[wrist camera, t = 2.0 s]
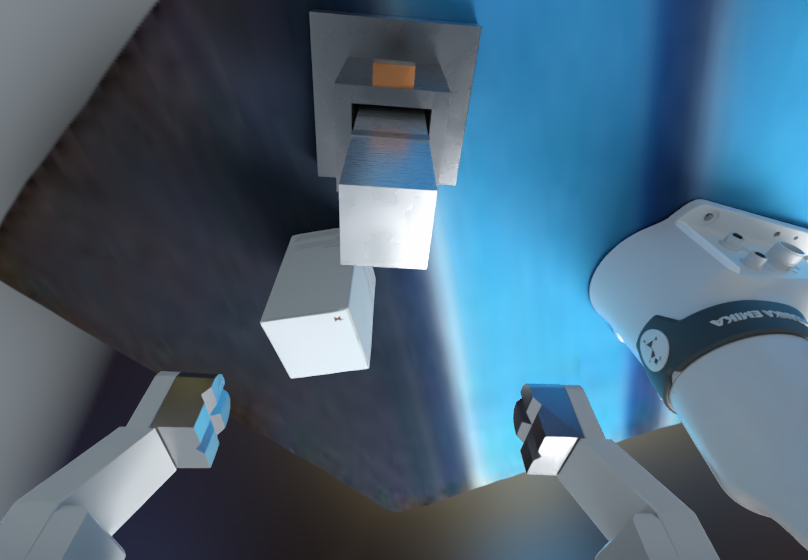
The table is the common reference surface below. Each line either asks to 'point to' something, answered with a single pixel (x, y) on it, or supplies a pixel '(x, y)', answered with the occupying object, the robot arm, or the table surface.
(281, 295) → the supplement box
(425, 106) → the stand
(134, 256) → the table surface
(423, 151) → the column
